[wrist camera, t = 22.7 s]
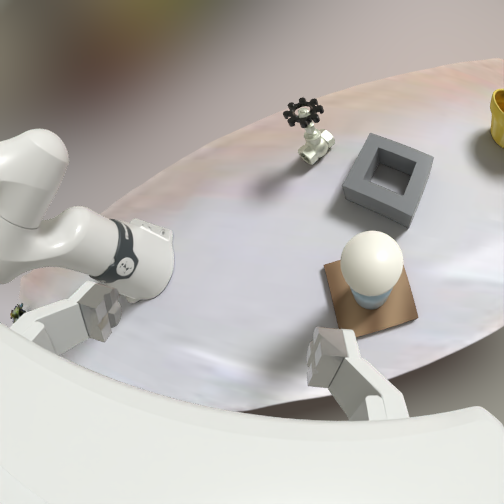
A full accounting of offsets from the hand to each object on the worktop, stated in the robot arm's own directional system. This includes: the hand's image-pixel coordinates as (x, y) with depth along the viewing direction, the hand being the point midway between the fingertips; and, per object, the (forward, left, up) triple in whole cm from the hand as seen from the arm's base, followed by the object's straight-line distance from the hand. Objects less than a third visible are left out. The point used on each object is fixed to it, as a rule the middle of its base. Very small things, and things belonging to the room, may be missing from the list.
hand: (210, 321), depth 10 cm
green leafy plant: (-93, -66, -33) cm, 119 cm away
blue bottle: (+2, +9, -32) cm, 33 cm away
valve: (-18, +28, -33) cm, 47 cm away
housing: (-3, +27, -33) cm, 42 cm away
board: (+2, +9, -33) cm, 34 cm away
